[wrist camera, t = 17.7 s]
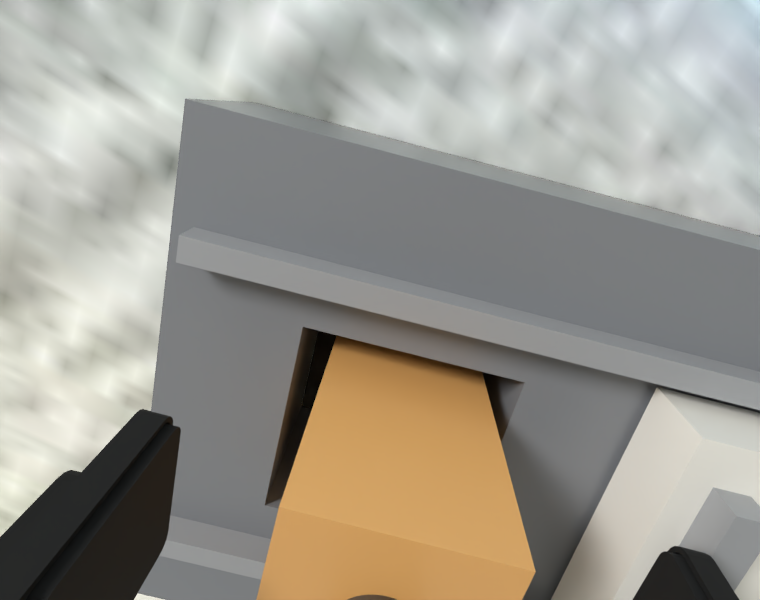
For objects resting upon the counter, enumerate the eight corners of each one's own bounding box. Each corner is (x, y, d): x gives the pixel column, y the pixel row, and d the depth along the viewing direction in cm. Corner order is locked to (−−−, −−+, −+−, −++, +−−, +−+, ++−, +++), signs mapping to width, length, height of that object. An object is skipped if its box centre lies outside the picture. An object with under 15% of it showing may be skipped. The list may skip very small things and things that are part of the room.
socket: (864, 263, 16) (1100, 342, 10) (666, 592, 21) (757, 764, 15) (254, 102, 15) (168, 97, 10) (196, 479, 20) (117, 616, 15)
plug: (468, 321, 17) (574, 716, 6) (433, 421, 19) (466, 893, 7) (352, 290, 17) (236, 633, 6) (325, 392, 19) (190, 830, 7)
